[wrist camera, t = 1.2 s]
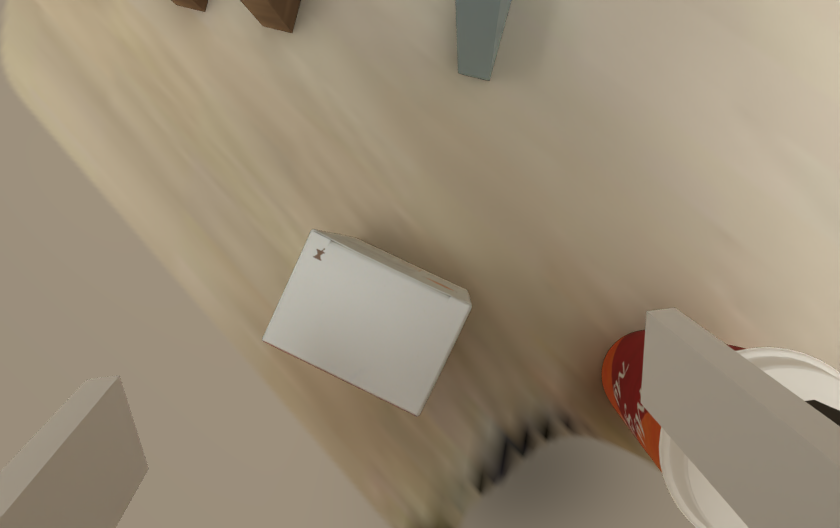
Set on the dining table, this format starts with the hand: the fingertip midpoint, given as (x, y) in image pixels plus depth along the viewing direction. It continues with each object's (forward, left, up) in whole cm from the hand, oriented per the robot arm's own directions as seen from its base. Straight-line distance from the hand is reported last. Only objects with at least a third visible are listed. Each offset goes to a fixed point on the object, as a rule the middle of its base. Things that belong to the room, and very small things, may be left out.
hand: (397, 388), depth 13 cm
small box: (+2, -2, -20) cm, 20 cm away
